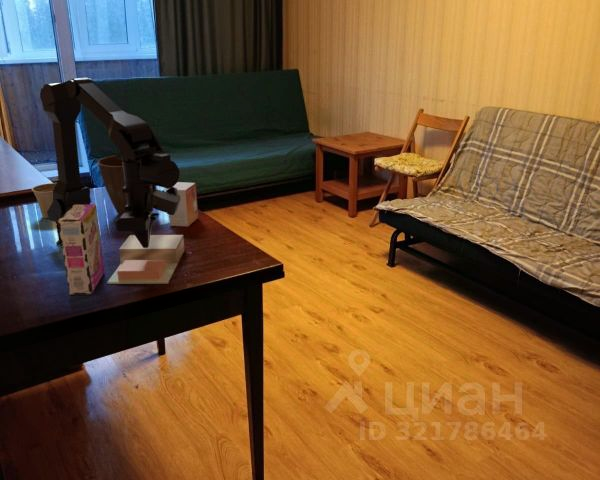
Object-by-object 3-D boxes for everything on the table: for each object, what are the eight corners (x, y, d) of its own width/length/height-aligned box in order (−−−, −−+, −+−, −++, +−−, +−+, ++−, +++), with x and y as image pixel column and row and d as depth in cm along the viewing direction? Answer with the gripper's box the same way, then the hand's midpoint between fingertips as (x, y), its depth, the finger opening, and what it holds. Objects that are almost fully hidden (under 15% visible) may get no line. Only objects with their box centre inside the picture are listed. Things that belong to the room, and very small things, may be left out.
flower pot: (78, 214, 165) (74, 185, 162) (50, 223, 158) (44, 193, 154) (58, 209, 170) (53, 181, 166) (30, 217, 162) (24, 188, 159)
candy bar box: (93, 294, 116) (82, 220, 110) (69, 296, 116) (56, 220, 110) (106, 272, 126) (96, 202, 120) (83, 273, 126) (72, 203, 120)
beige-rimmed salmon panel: (125, 260, 127) (126, 268, 127) (117, 271, 121) (118, 279, 122) (164, 259, 127) (165, 267, 127) (158, 270, 121) (159, 279, 122)
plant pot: (149, 202, 175) (144, 152, 169) (164, 215, 163) (158, 161, 157) (100, 210, 168) (92, 157, 162) (111, 224, 156) (104, 168, 150)
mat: (107, 283, 121) (107, 282, 121) (121, 265, 130) (120, 263, 130) (167, 283, 121) (167, 281, 121) (177, 264, 130) (177, 263, 130)
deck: (121, 265, 130) (118, 249, 129) (131, 250, 138) (129, 235, 137) (177, 264, 130) (175, 248, 129) (184, 250, 138) (183, 234, 137)
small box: (188, 227, 154) (185, 190, 150) (169, 226, 155) (165, 189, 151) (198, 218, 161) (196, 182, 157) (180, 216, 162) (177, 181, 158)
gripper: (165, 192, 113) (172, 263, 119) (183, 169, 130) (188, 232, 136) (110, 193, 113) (120, 264, 119) (135, 170, 130) (143, 233, 136)
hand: (146, 247), depth 127 cm, fingers closed
